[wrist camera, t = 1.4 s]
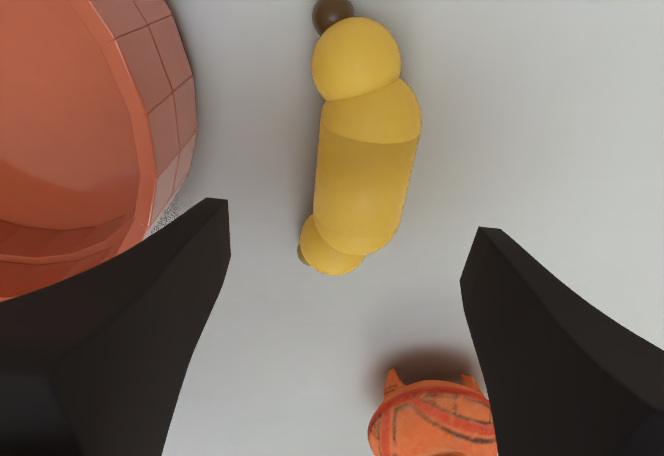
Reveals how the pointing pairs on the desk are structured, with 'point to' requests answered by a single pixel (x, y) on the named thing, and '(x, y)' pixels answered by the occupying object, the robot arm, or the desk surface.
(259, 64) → the desk surface
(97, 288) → the robot arm
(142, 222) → the bowl
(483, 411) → the pot
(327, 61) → the banana
